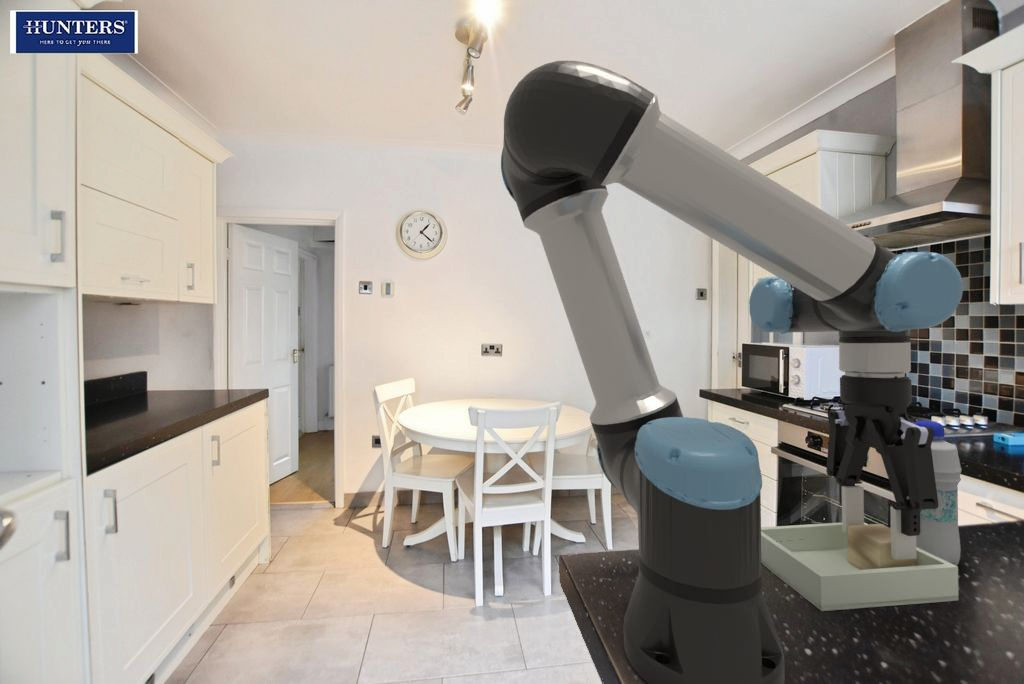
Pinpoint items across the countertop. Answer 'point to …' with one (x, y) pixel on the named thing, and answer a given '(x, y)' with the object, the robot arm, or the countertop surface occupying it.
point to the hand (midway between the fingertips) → (876, 543)
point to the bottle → (942, 501)
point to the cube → (872, 548)
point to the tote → (850, 571)
